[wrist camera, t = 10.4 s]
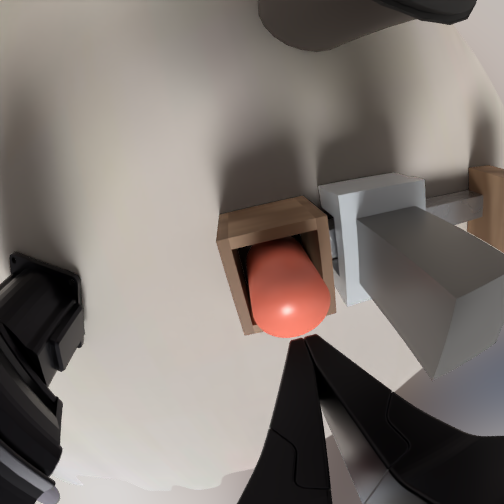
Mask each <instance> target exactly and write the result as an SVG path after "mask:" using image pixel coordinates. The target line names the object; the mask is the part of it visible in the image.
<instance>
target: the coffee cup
mask: <svg viewBox="0 0 504 504" xmlns="http://www.w3.org/2000/svg"><path fill="white" fill-rule="evenodd" d="M476 1H477V0H258V5H259V16H260V18H261V20H262V23H263V25H264V26H265V27H266V29H267V30H268V31H269V32H270V33H271V34H272V35H273V36H274V37H276V38H277V39H279V40H280V41H282V42H283V43H285V44H286V45H289V46H292V47H295V48H298V49H300V50H307V51H315V52H318V51H325V50H331V49H333V48H335V47H338V46H340V45H342V44H345V43H347V42H350V41H352V40H355V39H357V38H360V37H362V36H365V35H368V34H370V33H373V32H376V31H379V30H382V29H385V28H388V27H391V26H394V25H397V24H401V23H404V22H407V21H411V20H415V19H419V20H421V21H428V22H435V23H442V24H447V25H451V24H454V23H457V22H460V21H463V20H466V19H468V17H469V15H470V13H471V12H472V10H473V8H474V6H475V4H476Z"/></svg>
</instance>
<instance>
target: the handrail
mask: <svg viewBox="0 0 504 504" xmlns="http://www.w3.org/2000/svg"><path fill="white" fill-rule="evenodd" d="M426 211H427V212H429V213H431V214H433V215H435V216H437V217H439V218H441V219H443V220H445V221H447V222H449V223H451V224H453V225H456V224H460V223H463V222H466V221H470V220H473V219H477V218H480V217H482V213H483V195H481V194H479V193H476V192H473V191H471V190H466V191H461V192H456V193H451V194H446V195H441V196H436V197H431V198H426ZM328 227H329V235H330V244H331V253H332V258H335V257H338V252H337V241H336V232H335V223H334V218H333V219H329V220H328Z"/></svg>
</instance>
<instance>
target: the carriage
mask: <svg viewBox="0 0 504 504" xmlns="http://www.w3.org/2000/svg"><path fill="white" fill-rule="evenodd" d="M318 189H319V195H320V202H321V207H322V208H323V209H324V210H326V211H327V212H328V213H329V214H331V215H332V216H333V217H334V223H335V232H336V241H337V252H338V259H336V260H332V264H333V275H334V286H335V287H336V289H337V290H338V292H339V293H340V295H341V298H342V299H343V301H344V302H345V304H346V306H347V307H348V306H351V305H354V304H358V303H361V302H364V301H367V300H371V299H372V300H373V301H374V302H375V303H376V305H377V306H378V307H379V309H380V310H381V311H382V312H383V314H384V315H385V316H386V318H387V319H388V320H389V322H390V323H391V324H392V326H393V327H394V328H395V330H396V331H397V332H398V334H399V335H400V336H401V338H402V339H403V340H404V342H405V343H406V344H407V346H408V347H409V349H410V350H411V351H412V353H413V354H414V356H415V357H416V358H417V360H418V361H419V363H420V364H421V365H422V367H423V368H424V370H425V371H426V373H427V374H428V376H429V377H430V378H431V380H432V381H434V380H436V379H437V378H439V377H441V376H443V375H445V374H447V373H449V372H450V371H452V370H454V369H456V368H457V367H459V366H461V365H462V364H464V363H466V362H468V361H469V360H471V359H472V358H474V357H475V356H477V355H479V354H480V353H481V352H483V351H485V350H486V349H488V348H489V347H491V346H492V345H493V344H495V343H496V341H497V338H498V336H499V333H500V331H501V328H502V326H503V323H504V254H503V253H502V252H500V251H498V250H497V249H495V248H493V247H492V246H490V245H488V244H487V243H485V242H483V241H482V240H480V239H478V238H476V237H475V236H473V235H471V234H469V233H468V232H466V231H464V230H462V229H460V228H458V227H457V226H455V225H453V224H451V223H449V222H447V221H445V220H443V219H441V218H439V217H437V216H435V215H433V214H431V213H429V212H427V211H426V199H425V180H424V179H421V178H418V177H414V176H413V177H408V176H405V175H402V174H398V173H395V172H394V173H388V174H382V175H375V176H369V177H364V178H358V179H352V180H346V181H341V182H336V183H330V184H325V185H320V186H318Z"/></svg>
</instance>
